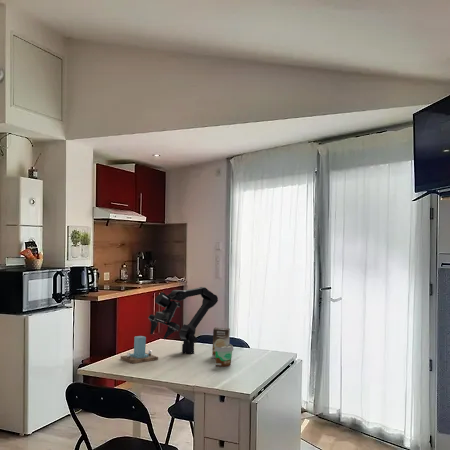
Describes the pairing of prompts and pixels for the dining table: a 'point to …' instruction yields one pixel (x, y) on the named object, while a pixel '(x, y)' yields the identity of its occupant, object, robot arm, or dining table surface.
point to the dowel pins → (148, 354)
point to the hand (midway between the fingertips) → (157, 336)
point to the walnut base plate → (139, 359)
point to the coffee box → (220, 338)
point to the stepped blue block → (139, 347)
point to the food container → (224, 355)
